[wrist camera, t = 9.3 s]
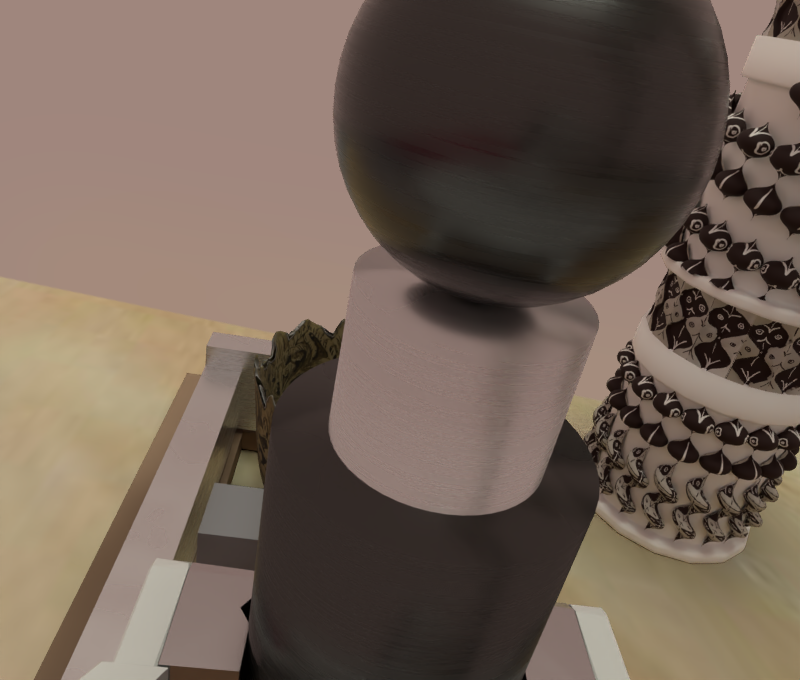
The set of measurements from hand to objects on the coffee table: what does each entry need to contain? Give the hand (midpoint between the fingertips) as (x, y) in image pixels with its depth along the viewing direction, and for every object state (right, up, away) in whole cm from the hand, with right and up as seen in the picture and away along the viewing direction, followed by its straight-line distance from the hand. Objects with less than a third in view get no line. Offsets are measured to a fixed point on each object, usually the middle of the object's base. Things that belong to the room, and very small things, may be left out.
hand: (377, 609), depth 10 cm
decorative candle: (+13, -4, +23) cm, 27 cm away
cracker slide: (-2, -5, +12) cm, 13 cm away
